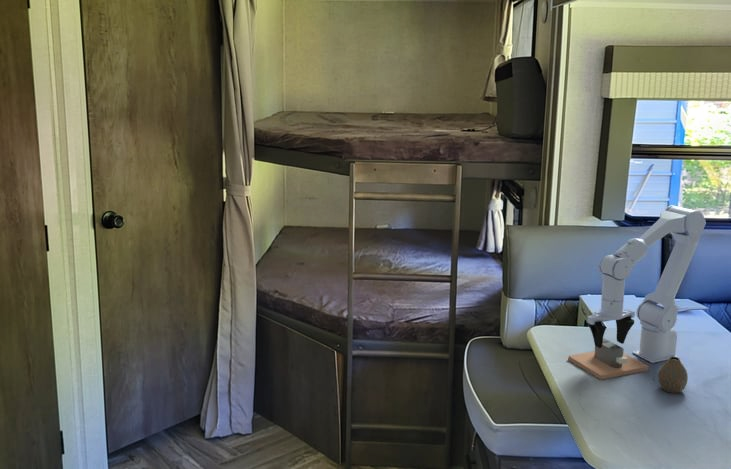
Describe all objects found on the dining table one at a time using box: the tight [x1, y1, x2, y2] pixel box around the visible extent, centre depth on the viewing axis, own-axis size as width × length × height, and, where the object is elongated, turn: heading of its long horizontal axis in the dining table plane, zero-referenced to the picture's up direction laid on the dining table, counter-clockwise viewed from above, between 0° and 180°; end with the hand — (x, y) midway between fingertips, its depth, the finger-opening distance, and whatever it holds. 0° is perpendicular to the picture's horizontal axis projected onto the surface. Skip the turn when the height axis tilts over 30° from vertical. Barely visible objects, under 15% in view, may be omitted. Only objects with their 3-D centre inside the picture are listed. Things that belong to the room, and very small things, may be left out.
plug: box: [594, 338, 628, 368], centre depth 184 cm, size 4×11×5 cm, turn 20°
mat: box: [568, 350, 649, 380], centre depth 185 cm, size 16×14×1 cm
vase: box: [657, 356, 688, 394], centre depth 169 cm, size 7×7×9 cm
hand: (609, 344), depth 184 cm, fingers open, 7 cm apart
